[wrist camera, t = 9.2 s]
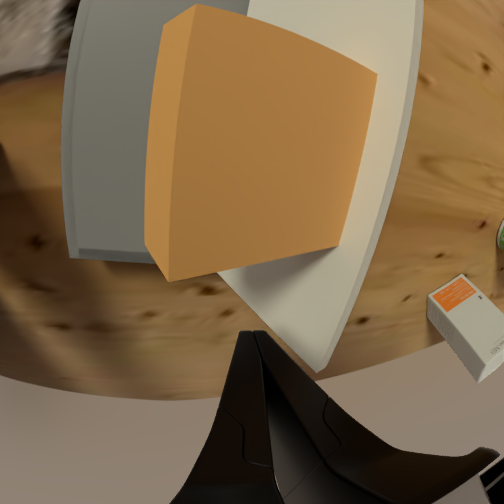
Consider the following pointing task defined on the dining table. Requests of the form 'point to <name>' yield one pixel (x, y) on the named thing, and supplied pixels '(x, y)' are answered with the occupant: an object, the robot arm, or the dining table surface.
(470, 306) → the skincare box
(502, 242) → the supplement bottle
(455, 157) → the dining table surface
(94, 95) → the carton
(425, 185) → the dining table surface
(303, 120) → the lid flap
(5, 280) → the dining table surface
